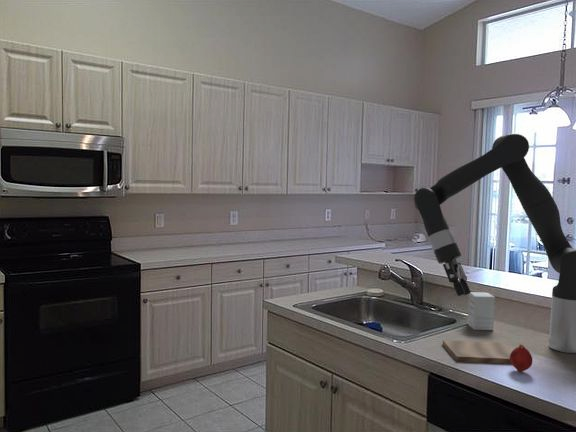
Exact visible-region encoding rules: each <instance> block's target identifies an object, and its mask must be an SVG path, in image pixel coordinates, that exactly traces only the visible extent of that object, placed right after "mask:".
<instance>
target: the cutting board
mask: <svg viewBox="0 0 576 432" xmlns="http://www.w3.org/2000/svg"><path fill="white" fill-rule="evenodd" d="M442 346H443V347H444V348H445V349H446V351H447V352H448V353H449V354H450V355H451V357H452V358H453V359H454V360H455V361H456V362H463V363H464V362H466V363H483V364H484V363H487V364H506V365H507V364H510V365H512V364H511V362H510V354H511V352H512V351H513V350H514V349H513V348H511V346H509V345H508V344H507V343H506V342H499V341H498V342H497V341H496V342H492V341H491V342H490V341H469V340H449V339H446V340H444V339H443V340H442Z"/></svg>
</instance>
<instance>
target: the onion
mask: <svg viewBox="0 0 576 432" xmlns="http://www.w3.org/2000/svg"><path fill="white" fill-rule="evenodd" d="M510 362H511V364H510V365H512V366H513V368H515V369H516V370H517V371H518V372H519V373H523V372H525V371H526V370H528V369H530V368H531V367H532V365H533V356H532V354H531V352H530V351H529V350H528V349H527V348H526V347H525V346H524V345H523V344H522V343H521V344H519V345H518V347H516V348H514V349H513V351H512V352H511V354H510Z"/></svg>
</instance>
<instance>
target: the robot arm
mask: <svg viewBox="0 0 576 432" xmlns="http://www.w3.org/2000/svg"><path fill="white" fill-rule="evenodd" d="M491 147H492V148H491V149H489V151H487V152H485V153H484V154H483V155H481V156H478V157H477V158H476V159H474V160H472V161H469V162H467V163H465V164H464V165H461V166H459V167H457V168H455V169H454V170H452V171H451V172H449V173H447V174H446V175H444V176H442V177H441V178H439V179H438V180H437V182H436V183H435V184H434V185H432V186H431V187H421V188H419V189H417V191H416V192H415V193H414V196H413V201H414V202H413V203H414V206H415V208H416V209H417V211H418V212H419V214H420V216H421V219H422V222H423V227H424V229H425V232H426V234H427V236H428V239H429V240H428V241H429V242H430V243H429V244H430V246H431V248H432V251H433V254H434V256H435V258H436V262H437V263H438V264H440V265H441V264H442V267H443V269H444V272H445V273H446V276H447V279H448V282H449V283H451V285H453V288H454V290H455V294H456V295H457V296H458V297H460V296H467V295H469V293H471V292H472V291H471V290H470V287H469V285H468V283H467V280H468V276H467V274H466V273H465V270H464V269H463V268H464V267H463V266H462V263H461V262H458V261H457V259H459V258H460V257H462V253H461V251H460V249H459V246H458V244H457V242H456V241H457V240H456V239H455V236H454V234H453V233H452V231H451V229H450V228H449V225H448V223H447V220H446V218H445V216H444V215H443V211H442V209H441V205H442V204H444V203H445V202H446V201H447V200H448V199H450V198H451V197H453V196H455V195H457V194H459V193H460V192H462V191H464V190H465V189H466V188H468V187H471V186H472V185H473V184H474V183H476V182H478V181H480V180H481V179H482V178H484V177H486V176H487V175H490V174H491V173H494V172H495V171H497V170H499V169H502V171H503V172H504V173H505V176H507V179H508V180H509V182H510V184H511V186H512V189H513V191H514V193H515V194H516V197H517V199H518V200H519V203H520V205H521V207H522V209H523V211H524V213H525V215H526V217H527V218H528V221H530V223H531V225H532V227H533V229H534V231H535V233H536V234H537V236H538V238H539V240H540V241H541V243H542V244H543V247H544V251H545V252H546V256H547V259H548V261H549V263H550V267H551V268H553V269H554V271H555V272H557V273H558V274H559V276H558V281H557V284H556V285H554V286H553V287H552V293H551V308H550V319H549V320H550V322H549V332H548V333H549V337H548V347H549V348H551V349H552V350H555V351H558V352H562V353H568V354H576V248H573V246H572V245H571V243H570V242H569V241H568V239H567V237H566V236H565V233H564V232H563V229H562V225H561V224H562V223H561V215H560V211H559V208H558V205H557V203H556V202H555V199H554V198H553V196H552V194H551V192H550V191H549V189H548V187H547V186H546V185H545V184H544V183H543V182H542V181H541V179H539V178H538V176H537V175H536V174H534V172H533V171H532V170H531V168H530V167H529V165H528V163H527V160H526V158H525V157H526V156H527V155H528V152H529V149H530V143H529V140H528V139H527V138H526V137H525V136H524V135H522V134H519V133H508V134H504V135H501V136H499V137H497V138H496V139H495V140H494V141H493V144H492V146H491Z"/></svg>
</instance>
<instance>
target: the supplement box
mask: <svg viewBox="0 0 576 432" xmlns="http://www.w3.org/2000/svg"><path fill="white" fill-rule="evenodd" d="M467 302H468V305H467V323H466V324H467V325H468V326H469V328H471V329H472V330H477V331H494V323H495V321H494V319H495V306H496V297H495V296H494V295H492V294H491V293H489V292H479V291H478V292H475V291H471V293H469V294H468V300H467Z"/></svg>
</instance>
